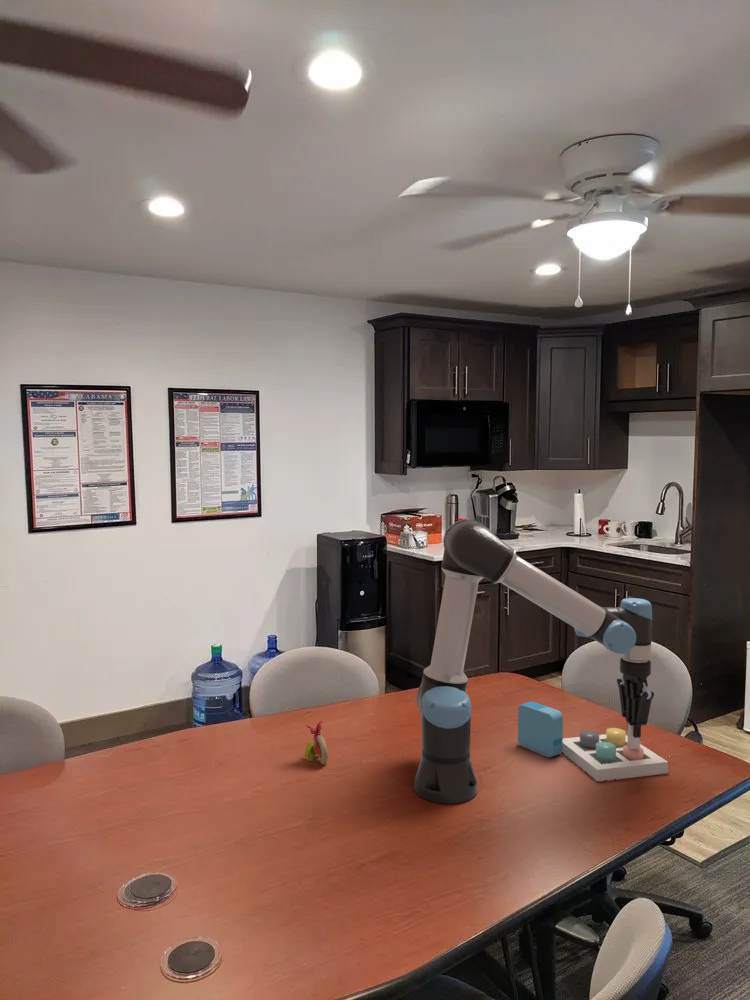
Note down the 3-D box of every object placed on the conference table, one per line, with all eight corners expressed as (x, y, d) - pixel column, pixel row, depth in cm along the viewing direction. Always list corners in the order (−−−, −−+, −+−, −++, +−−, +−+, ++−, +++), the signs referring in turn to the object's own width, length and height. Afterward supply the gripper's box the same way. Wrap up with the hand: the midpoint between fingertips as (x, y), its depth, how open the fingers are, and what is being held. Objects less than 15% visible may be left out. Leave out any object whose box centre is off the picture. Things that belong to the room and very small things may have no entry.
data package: (562, 755, 192) (563, 711, 191) (552, 759, 189) (552, 715, 188) (527, 741, 201) (528, 699, 201) (517, 745, 198) (517, 703, 198)
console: (597, 781, 176) (597, 769, 176) (557, 749, 195) (558, 739, 195) (667, 773, 181) (667, 761, 181) (622, 743, 200) (622, 732, 200)
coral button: (630, 765, 182) (630, 753, 182) (619, 757, 187) (619, 745, 187) (647, 763, 183) (647, 751, 183) (635, 755, 188) (636, 744, 188)
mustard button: (612, 747, 190) (613, 735, 189) (602, 740, 194) (602, 728, 194) (629, 745, 191) (629, 733, 191) (618, 738, 196) (618, 727, 196)
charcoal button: (585, 750, 188) (586, 738, 188) (576, 742, 193) (576, 731, 192) (602, 748, 189) (603, 736, 189) (592, 741, 194) (592, 729, 194)
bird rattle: (334, 769, 187) (320, 745, 194) (342, 737, 183) (327, 713, 190) (313, 775, 184) (299, 750, 191) (320, 742, 180) (306, 718, 187)
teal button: (602, 762, 180) (602, 750, 180) (591, 754, 185) (592, 742, 185) (620, 760, 181) (620, 748, 181) (609, 752, 186) (609, 740, 186)
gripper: (664, 664, 178) (662, 756, 179) (633, 651, 191) (631, 737, 192) (637, 666, 176) (635, 759, 178) (608, 653, 189) (606, 739, 190)
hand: (633, 747), depth 185 cm, fingers closed
